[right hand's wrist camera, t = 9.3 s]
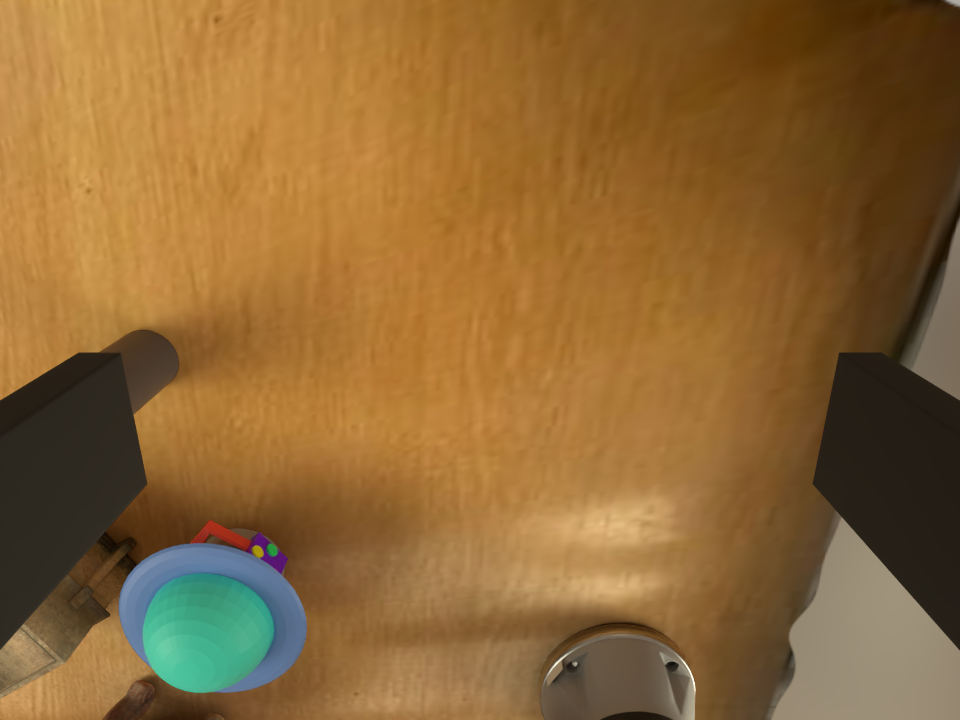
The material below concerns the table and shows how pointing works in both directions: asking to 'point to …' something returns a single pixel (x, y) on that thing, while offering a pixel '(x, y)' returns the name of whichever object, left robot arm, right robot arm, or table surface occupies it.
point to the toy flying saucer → (214, 612)
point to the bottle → (145, 364)
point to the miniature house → (66, 615)
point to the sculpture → (139, 703)
